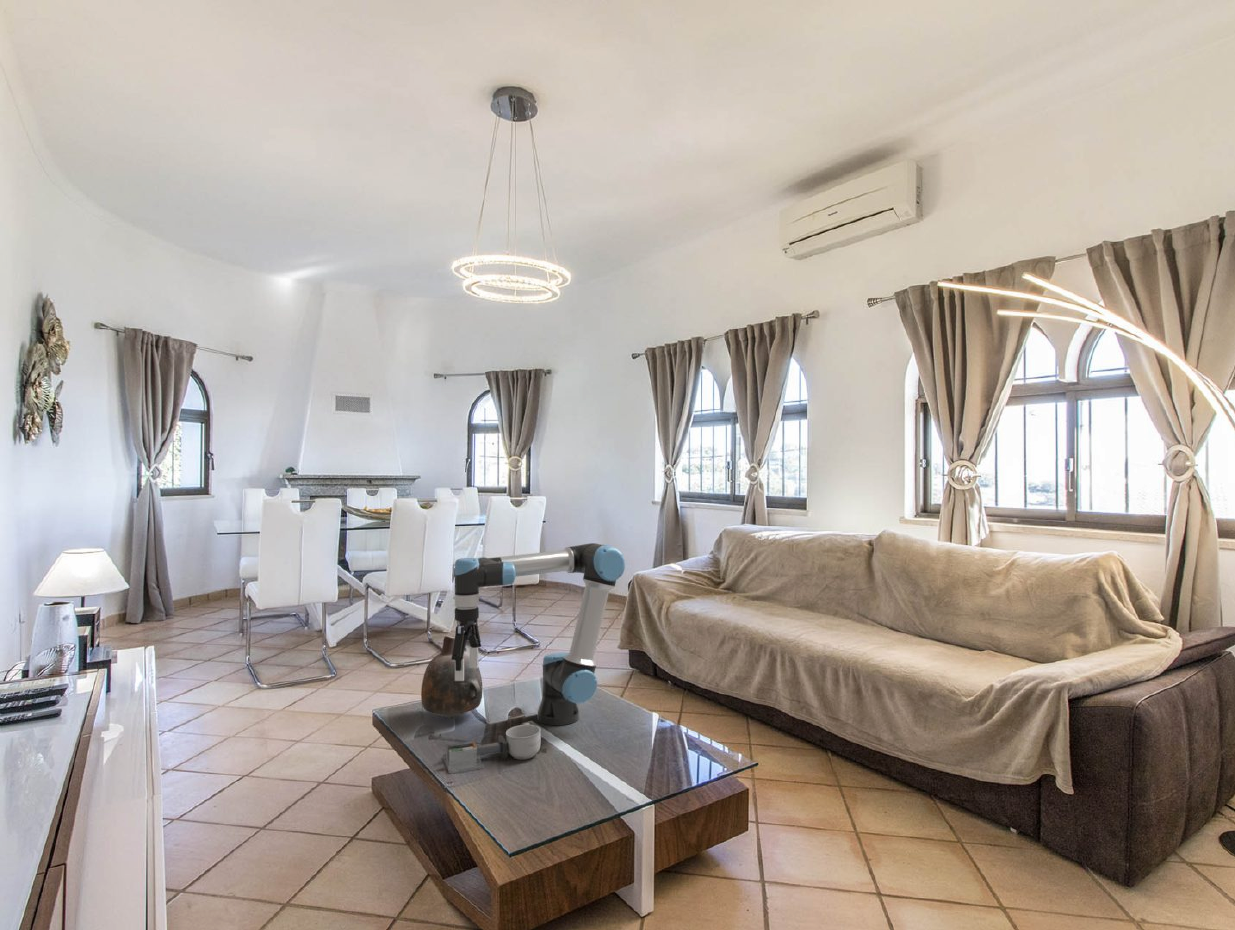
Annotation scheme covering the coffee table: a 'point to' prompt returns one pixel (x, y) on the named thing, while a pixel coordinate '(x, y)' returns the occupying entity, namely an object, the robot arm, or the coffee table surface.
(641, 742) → the coffee table surface
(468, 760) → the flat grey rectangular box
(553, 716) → the robot arm
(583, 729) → the coffee table surface
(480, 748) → the hammer
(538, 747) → the teacup
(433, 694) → the jug
